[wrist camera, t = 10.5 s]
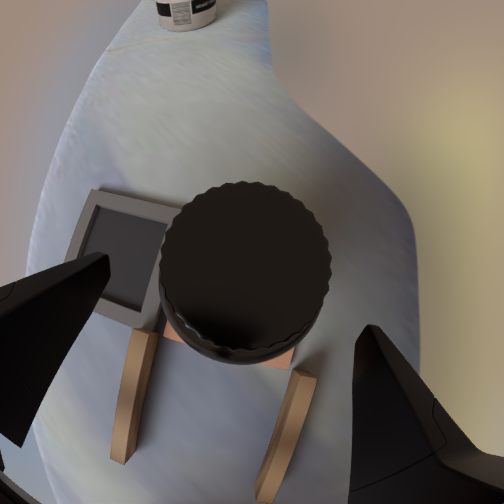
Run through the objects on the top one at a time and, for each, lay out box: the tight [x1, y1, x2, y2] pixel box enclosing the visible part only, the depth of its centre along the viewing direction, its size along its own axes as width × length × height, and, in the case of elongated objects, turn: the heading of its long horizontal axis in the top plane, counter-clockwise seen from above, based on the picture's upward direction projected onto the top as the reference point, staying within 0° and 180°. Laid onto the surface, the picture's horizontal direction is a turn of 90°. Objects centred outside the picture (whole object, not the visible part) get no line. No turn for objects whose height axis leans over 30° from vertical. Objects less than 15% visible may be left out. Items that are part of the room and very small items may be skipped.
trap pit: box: [64, 189, 181, 332], centre depth 19 cm, size 9×9×1 cm
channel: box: [110, 328, 317, 504], centre depth 16 cm, size 11×12×2 cm
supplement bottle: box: [158, 181, 332, 365], centre depth 13 cm, size 7×7×12 cm
